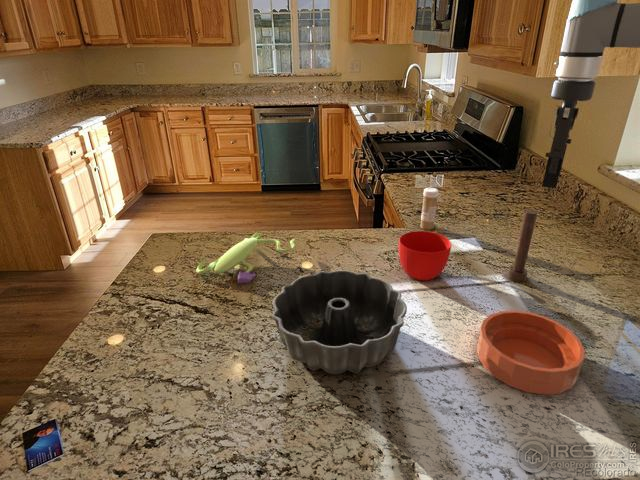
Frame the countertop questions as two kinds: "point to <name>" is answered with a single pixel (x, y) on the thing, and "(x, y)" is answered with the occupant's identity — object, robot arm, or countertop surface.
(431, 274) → the ceramic cup
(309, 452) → the countertop surface
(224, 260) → the figurine
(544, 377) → the bowl
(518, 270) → the wooden pestle
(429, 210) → the sprinkles bottle
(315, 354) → the bundt pan
